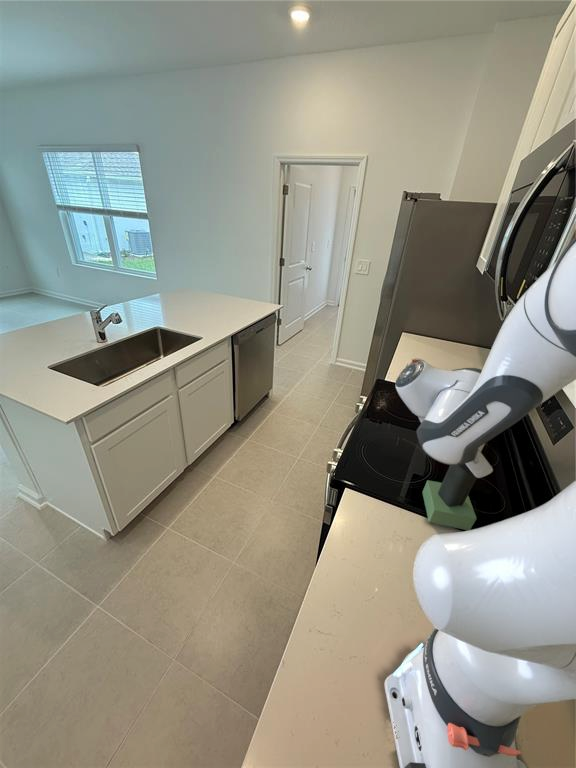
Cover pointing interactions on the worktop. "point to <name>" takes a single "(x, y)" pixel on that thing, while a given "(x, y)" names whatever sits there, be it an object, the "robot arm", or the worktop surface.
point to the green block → (447, 509)
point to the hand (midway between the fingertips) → (473, 455)
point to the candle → (457, 484)
